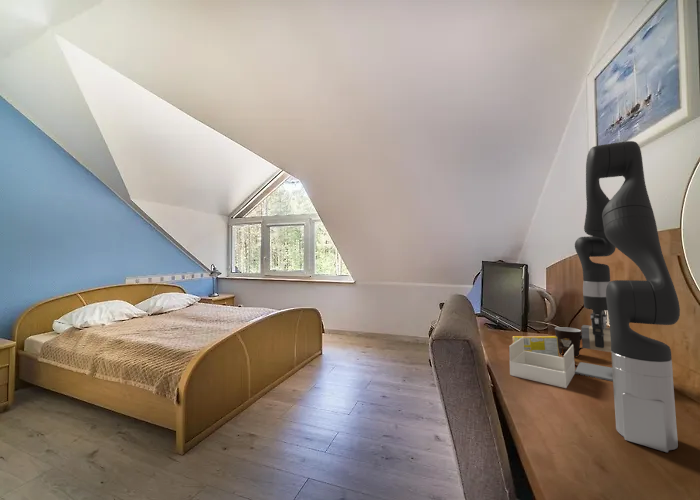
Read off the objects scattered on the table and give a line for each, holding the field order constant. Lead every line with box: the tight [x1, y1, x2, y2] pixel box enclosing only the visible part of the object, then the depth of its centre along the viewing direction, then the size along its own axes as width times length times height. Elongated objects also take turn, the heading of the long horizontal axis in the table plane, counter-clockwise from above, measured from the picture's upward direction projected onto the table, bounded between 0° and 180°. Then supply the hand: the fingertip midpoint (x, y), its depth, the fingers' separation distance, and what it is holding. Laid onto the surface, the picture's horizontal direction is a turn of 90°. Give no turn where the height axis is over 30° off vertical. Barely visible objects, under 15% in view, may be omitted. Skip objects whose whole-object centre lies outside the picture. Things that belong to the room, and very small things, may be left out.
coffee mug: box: [554, 326, 584, 356], centre depth 115 cm, size 12×9×10 cm
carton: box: [508, 337, 576, 389], centre depth 97 cm, size 16×15×10 cm
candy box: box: [512, 335, 560, 357], centre depth 114 cm, size 16×2×8 cm, turn 84°
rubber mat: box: [574, 361, 613, 382], centre depth 97 cm, size 13×13×1 cm
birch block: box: [580, 324, 611, 353], centre depth 97 cm, size 4×9×7 cm, turn 45°
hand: (600, 345), depth 97 cm, fingers closed on birch block, 4 cm apart
